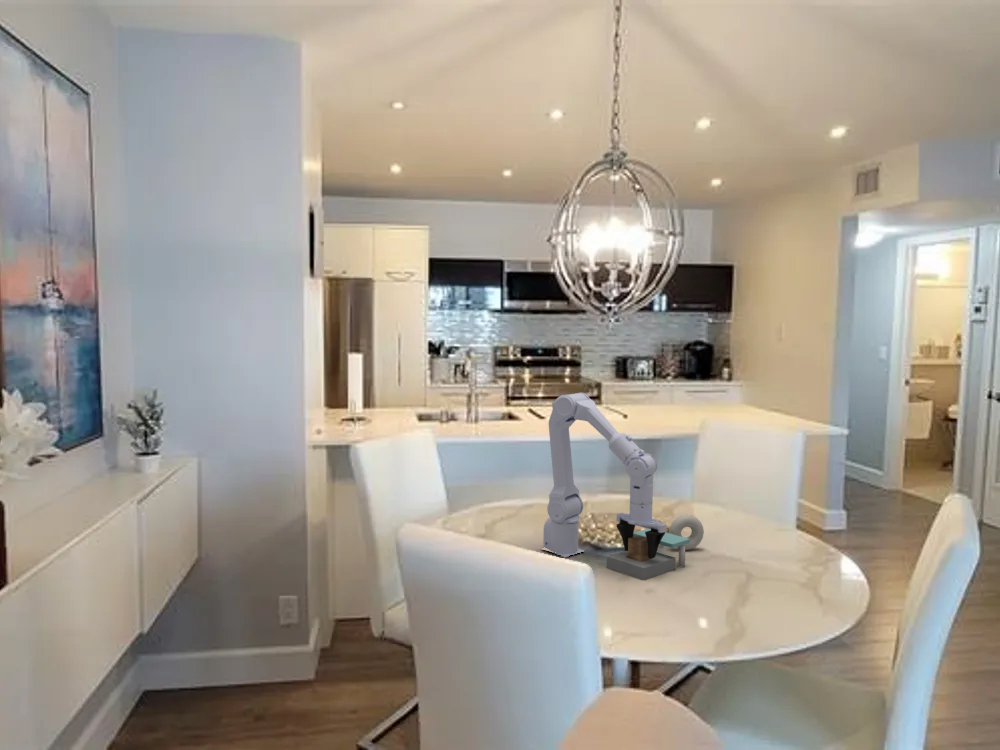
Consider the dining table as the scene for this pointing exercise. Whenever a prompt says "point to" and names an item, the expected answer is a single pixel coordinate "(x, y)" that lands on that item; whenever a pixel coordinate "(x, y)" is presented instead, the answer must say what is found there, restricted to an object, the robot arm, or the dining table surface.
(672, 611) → the dining table surface
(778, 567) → the dining table surface
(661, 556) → the socket block
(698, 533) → the donut
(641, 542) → the peg
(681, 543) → the teal mini table
